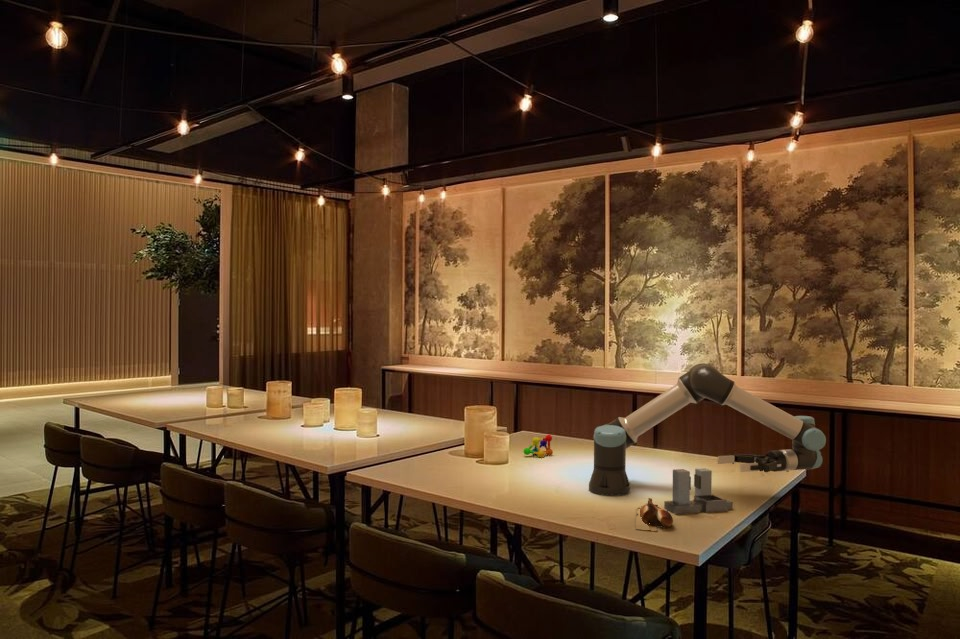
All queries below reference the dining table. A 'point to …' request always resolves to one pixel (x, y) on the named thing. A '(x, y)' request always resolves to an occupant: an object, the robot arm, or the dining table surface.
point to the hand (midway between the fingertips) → (729, 463)
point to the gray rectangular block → (702, 481)
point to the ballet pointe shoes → (655, 516)
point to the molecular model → (542, 443)
